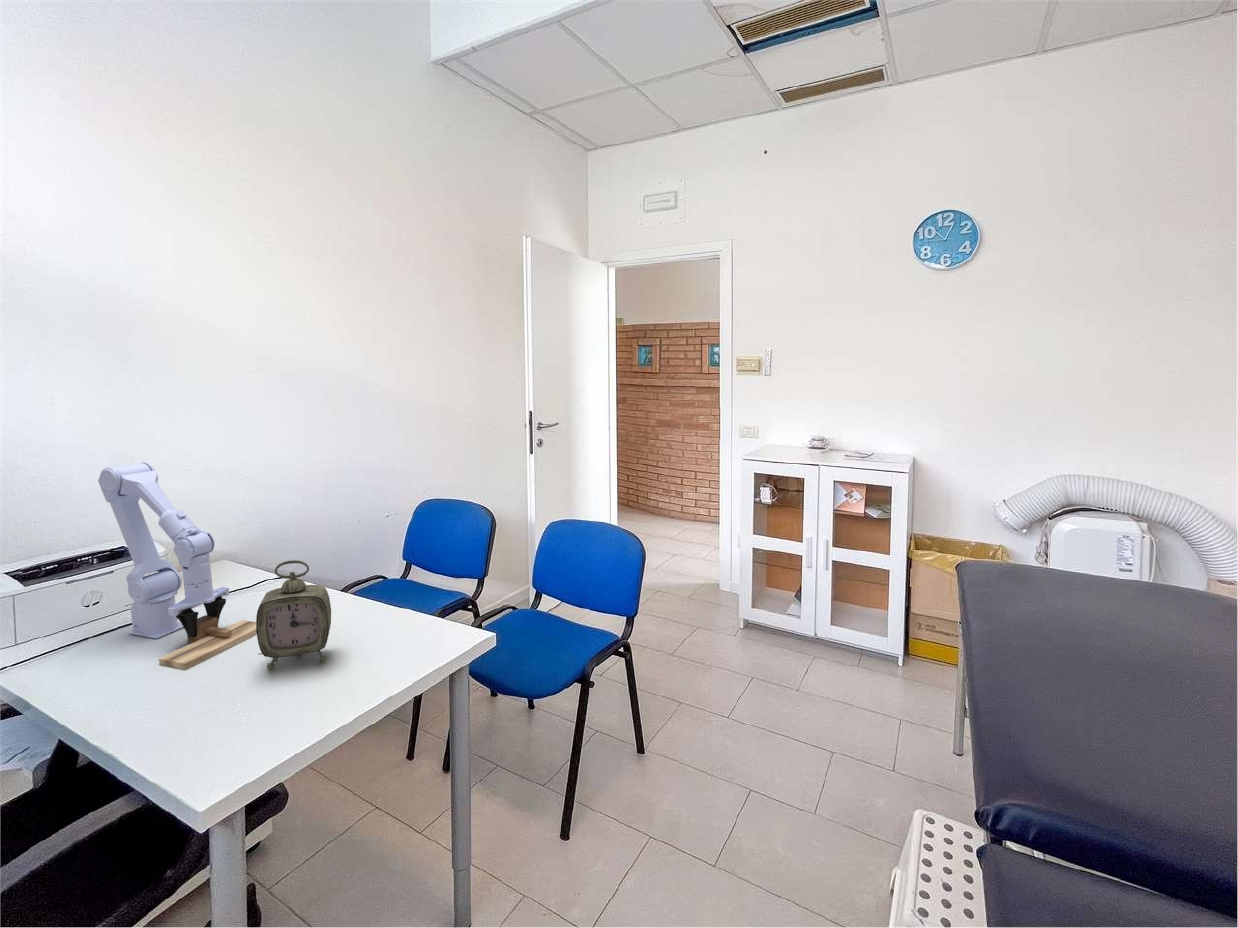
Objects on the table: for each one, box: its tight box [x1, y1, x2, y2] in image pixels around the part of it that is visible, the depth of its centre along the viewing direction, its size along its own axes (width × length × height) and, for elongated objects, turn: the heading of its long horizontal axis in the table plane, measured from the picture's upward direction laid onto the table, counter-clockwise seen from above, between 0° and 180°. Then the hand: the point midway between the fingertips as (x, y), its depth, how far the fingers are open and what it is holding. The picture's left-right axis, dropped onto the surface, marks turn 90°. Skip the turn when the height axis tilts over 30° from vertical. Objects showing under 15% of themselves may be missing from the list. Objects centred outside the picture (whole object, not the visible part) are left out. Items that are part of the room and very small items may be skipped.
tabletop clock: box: [255, 559, 332, 671], centre depth 135 cm, size 14×9×25 cm, turn 112°
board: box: [158, 619, 257, 671], centre depth 144 cm, size 8×22×2 cm, turn 165°
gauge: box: [186, 614, 232, 644], centre depth 146 cm, size 10×5×5 cm, turn 74°
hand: (203, 631), depth 147 cm, fingers open, 5 cm apart
